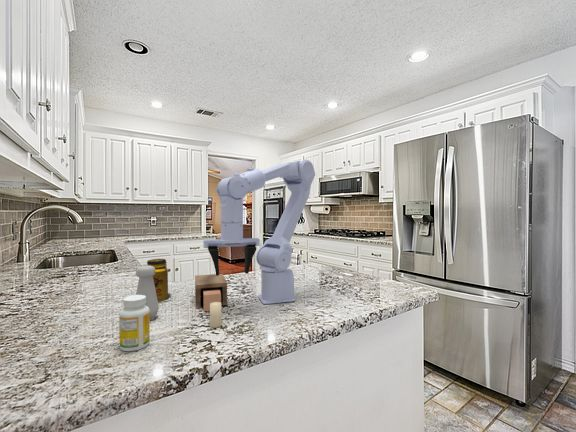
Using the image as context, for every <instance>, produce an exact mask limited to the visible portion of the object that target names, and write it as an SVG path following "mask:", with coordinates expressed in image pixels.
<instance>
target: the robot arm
mask: <svg viewBox="0 0 576 432" xmlns="http://www.w3.org/2000/svg"><path fill="white" fill-rule="evenodd" d="M315 176H316V172H315V168H314V165H313V163H312V161H310V160H309V159H303V160H294V161H288V162H283V163H278V164H276V165H273V166H271V167H269V168H265V169H264V170H260V169H259V168H254V167H250V168H247V169H246V171H245V172H241V173H239V172H235V173H233V176H230V177H225V178H222V179H221V180H220V181H219V182H218V184H217V187H215V190H216V194H217V196H218V197H219V200H220V238H213V239H203V245H202V246H203V248H204V249H207V250H208V252H209V255H210V257H211V260H212V262H213V265H214V271H215V274H216V276H219V274H220V267H219V253H220V252H219V248H225V247H226V248H229V247H231V248H232V247H243V248H244V249H243V251H244V273H245V274H249V271H250V267H251V264H252V260H253V259H254V256H255V253H256V256H255V257H256V259H255V261H256V263H257V264H258V265H259V269H260V270H261V276H260V277H261V278H260V279H261V282H260V284H261V286H260V287H261V294H258V295H257V298H258V299H259V301H261V303H262V304H263V305H270V304H271V305H272V304H280V303H289V302H295V301H296V299H295V277H294V275H295V274H294V272H293V269H290V268H289V266H290V265H291V262H292V254H293V251H294V249H293V247H292V245H291V244H290V242H291V239H292V237H293V235H294V233H295V230H296V228H297V226H298V223H299V220H300V218H301V216H302V213H303V211H304V209H305V207H306V203H307V202H308V199H309V197H310V194H311V193H310V192H311V185H312V184H313V182H314V179H315ZM277 178H279V179H282V180H283V181H284V183H285V186H286V188H287V189H288V190H289V191H290V192H291V194H290V196H289V199H288V201H287V202H286V205H285V207H284V210H283V213H282V214H281V216H280V219H279V220H278V223H277V225H276V227H275V230H274V232H273V235H272V236H271V237H269V238H268V239H266V240H265V241H264V243H263V245H261V243H260V241H261V239H260V238H259V237H253V238H252V237H244V216H243V215H244V205H243V204H244V202H243V200H244V198H245V197H246V195H248V194H250V193H252V192H255V191H257V190H260V189H262V188H264V187H265V185H266V182H269V181H272V180H274V179H277ZM260 245H261V247H260V248H259V249H258V250H257V247H259V246H260ZM256 251H257V252H256Z"/></svg>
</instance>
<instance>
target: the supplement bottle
mask: <svg viewBox="0 0 576 432" xmlns="http://www.w3.org/2000/svg"><path fill="white" fill-rule="evenodd" d="M122 301H123V303H122V305H123V307H124V308H122V309H121V310H120V311H119V317H118V318H119V319H118V320H119V321H118V322H119V324H118V325H119V327H118V328H119V330H118V331H119V332H118V333H119V338H118V339H119V340H118V342H119V343H118V344H119V346H118V347H119V349H120V350H121V351H124V352H134V351H138V350H141V349H144V348H146V347H147V346H148V345H149V344H150V340H151V339H150V337H151V336H150V335H151V334H150V333H151V331H150V329H151V328H150V326H151V325H150V324H151V323H150V321H151V320H150V310H149V307H148V306H146V305H145V304H146V296H145V295H136V294H132V295H128V296H126V297H124V298H123V300H122Z"/></svg>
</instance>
